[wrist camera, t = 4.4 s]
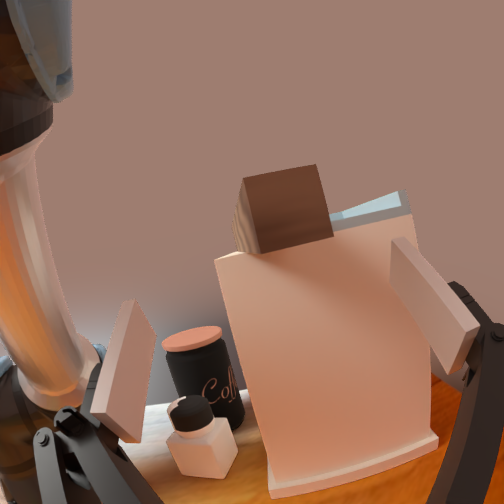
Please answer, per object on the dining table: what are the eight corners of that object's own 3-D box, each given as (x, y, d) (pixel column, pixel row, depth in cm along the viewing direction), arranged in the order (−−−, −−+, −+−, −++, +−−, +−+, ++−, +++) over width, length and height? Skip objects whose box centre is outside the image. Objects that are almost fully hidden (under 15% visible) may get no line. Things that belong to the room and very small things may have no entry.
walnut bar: (334, 236, 16) (315, 164, 16) (261, 254, 16) (242, 178, 15) (262, 245, 48) (256, 220, 48) (237, 251, 47) (231, 226, 47)
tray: (411, 213, 28) (405, 189, 28) (298, 240, 28) (292, 213, 28) (349, 225, 51) (345, 211, 51) (281, 241, 51) (278, 226, 51)
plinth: (437, 448, 27) (424, 211, 27) (271, 499, 28) (201, 263, 27) (379, 379, 51) (354, 224, 51) (268, 409, 52) (228, 253, 51)
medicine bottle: (239, 451, 40) (218, 389, 40) (224, 480, 33) (198, 415, 33) (199, 449, 42) (176, 390, 42) (181, 475, 35) (152, 413, 35)
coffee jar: (220, 444, 43) (187, 348, 43) (180, 429, 50) (149, 344, 49) (258, 413, 52) (234, 325, 51) (217, 404, 58) (193, 325, 58)
